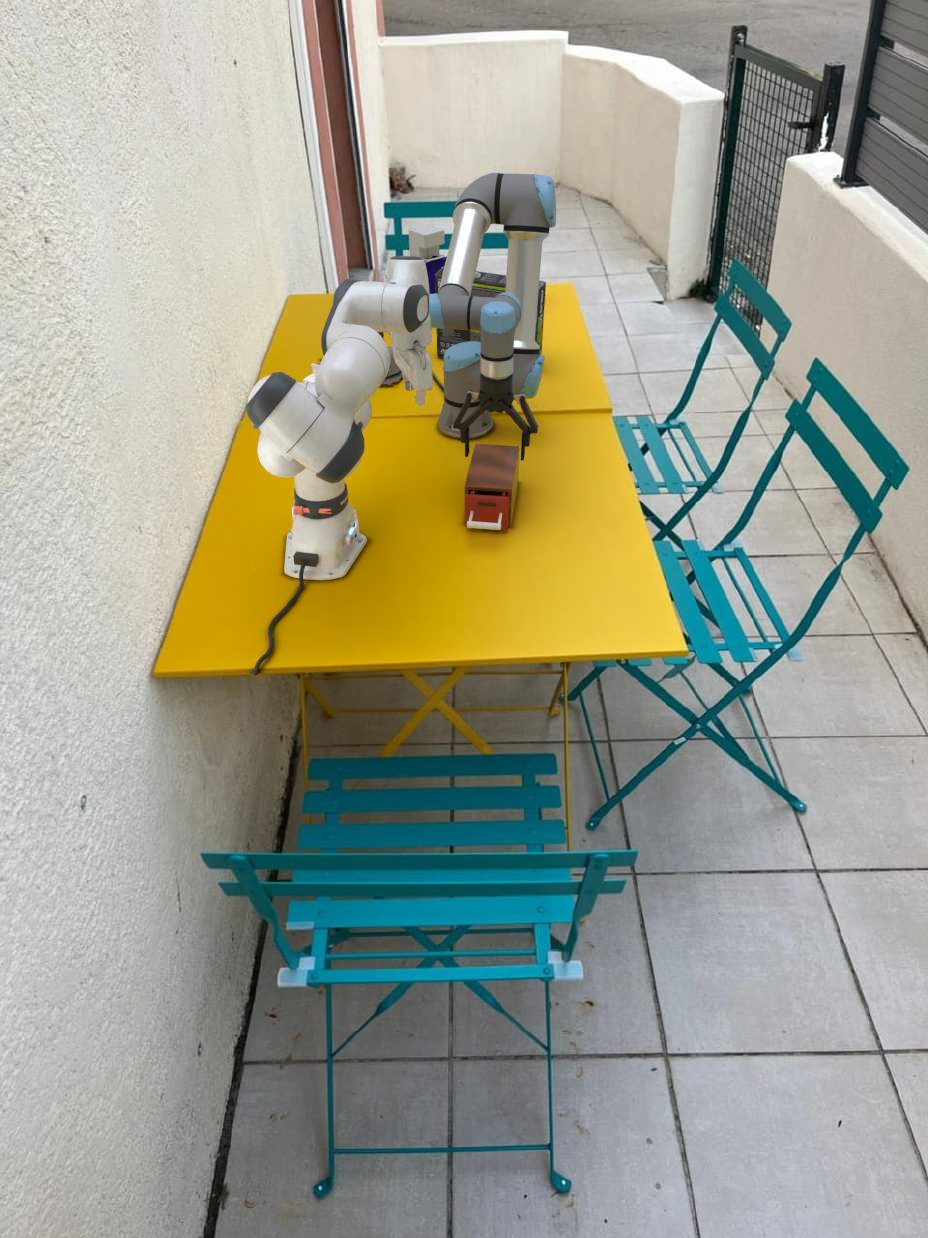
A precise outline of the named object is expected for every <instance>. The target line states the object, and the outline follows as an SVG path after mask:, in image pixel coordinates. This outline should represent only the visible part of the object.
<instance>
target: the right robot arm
mask: <svg viewBox="0 0 928 1238" xmlns="http://www.w3.org/2000/svg"><path fill="white" fill-rule="evenodd" d="M556 197H557V196H556V186H555V182H554V179H553V178H552V177H551V176H549V175H544V174H537V173H502V172H501V173H500V172H491V173H486V174H484V175H481V176H480V177H478V178H476V179H475V180H474V181H472V182H471V183H470V184H469V185H468V186H467V187H466V188H465V189H464V190H463V191H462V192H461V194H460V196H459V197H458V199H457V201H456V203H455V205H454V209H453V211H452V212H453V213H452V222H453V224H454V225H453V230H452V234H451V238H450V242H449V246H448V250H447V254H446V257H447V258H446V263H445V267H444V271H443V275H442V279H441V283H440V287H439V291H438V294H437V293H435V294H430V301H429V314H430V317H431V328H433V329H436V328H440V329H457V330H472V331H481V342H476V341H470V342H463V343H459V344H456V345H454V346H452V347H450V348H449V349H448V350H447V351H446V352H445V354H444V358H443V365H442V370H443V385H442V383H441V382H440V381H439V380H438V378H437V377H436V376H435V374H434V373H433V372H432V376H433V381H435V382H436V384H437V385H438V387H440V389H441V391H442V392H443V404H442V406H441V410H440V414H439V416H438V421H437V422H438V423H437V425H438V430H439V431H440V433H441V434H443V436H447V437H449V438H451V439H457V440H460V443H461V444H464V457H465V458H469V455H470V440H473V439H475V440H476V439H478V438H482V437H485V436H486V435H488V434H489V433H490V432H492V430H493V423H494V422H493V417H492V416H493V415H492V414H491V413H498V414H502V413H504V412H505V414H506V415H507V416H509V418H511V420H512V421H513V422H514V423H515V424H516V426H517V427H518V428H519V429H520V431H522V432H521V440H520V441H521V442H520V444H521V445H520V461H524V460H525V455H526V448H529V447H530V444H531V435H533V434H535V435H536V434H537V433H538V431H539V425H538V423H537V420H536V418H535V416H534V414H533V412H532V410H531V407H530V406H529V403H528V402H527V399H529V400H531V399H533V398H535V397H536V395H538V392H539V388H540V384H541V381H542V377H543V371H544V367H545V359H546V357H545V355H544V354H543V353H542V354H539V352H540V347H539V345H538V344H537V343H536V342H535V330H536V317H537V304H538V291H539V280H540V279H541V278H540V277H541V263H542V254H543V253H542V251H543V242H544V241H545V239H547V238H548V236H550V228H551V229H552V228H555V227H556V225H557V199H556ZM491 225H501V226H502V225H503V229H502V230H503V231H502V233H503V234H504V236H505V237H506V238H507V240H508V245H507V259H506V274H505V275H506V289H505V293H501V294H499V295H497V296H496V297H495V298H492V297H475V296H470V295H471V290H472V286H473V281H474V277H475V272H476V271H477V267H478V262H479V258H480V253H481V250H482V246H483V240H484V236H485V233H486V232H488V230H489V229H490V227H491ZM514 401H516V403H517V405H520V409H521V411H522V413H523V415H524V417H525V419H524V418H523V417H522V416H521V415H520V413H519V412H518V411H517V410H516V409H515V406H514V405H513V402H514Z"/></svg>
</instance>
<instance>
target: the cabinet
mask: <svg viewBox="0 0 928 1238" xmlns="http://www.w3.org/2000/svg"><path fill="white" fill-rule="evenodd" d="M519 466H520V446H519V445H505V444H504V445H503V444H487V443H486V444H485V443H474V447H473V450H472V455H471V458H470V463H469V466H468V471H467V475H466V479H465V482H464V525H466V494H471V490H480V491H495V492H508V497H509V502H508V528H512V522H513V516H514V511H515V504H516V498H517V492H518V485H519V469H520V467H519Z"/></svg>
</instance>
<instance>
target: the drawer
mask: <svg viewBox="0 0 928 1238" xmlns="http://www.w3.org/2000/svg"><path fill="white" fill-rule="evenodd" d="M508 502H509V497H508V492H495V491H480V490H471V494H466V524H465V528H466V529H479V530H493V531H508V528H509V527H508Z"/></svg>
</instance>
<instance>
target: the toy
mask: <svg viewBox="0 0 928 1238" xmlns="http://www.w3.org/2000/svg"><path fill="white" fill-rule="evenodd" d="M445 240H446V239H445V230H444V229H442V228H439V227H437V226H434V225H431V224H430V223H429V224H425V225H421V226H417V227H413V228H410V229H408V246H409V247H408V248H409V256H415V257H416V256H417V257H420V258H422V259H423V260H424V261H425V265H426V269H427V275H428V282H429V293H430V294H435V293H436V285H435V284H436V276H435V274H436V273H437V272H438V271H440V270H441V269H442V268H443V267H445V263H446V258H447V256H445V254H440V246H441V245H444V244H445ZM384 276H385V279H386V280H387V274H385V275H384Z"/></svg>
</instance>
